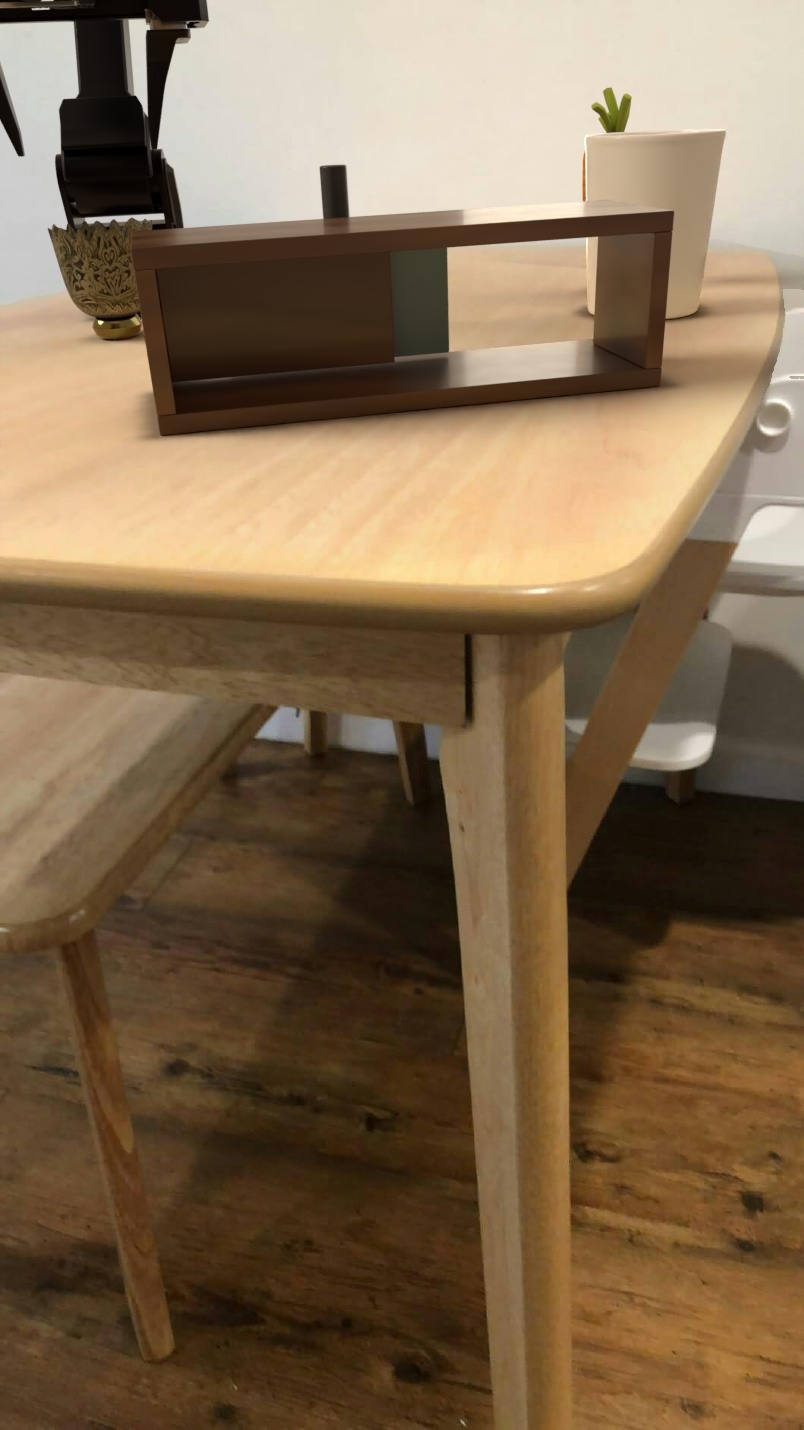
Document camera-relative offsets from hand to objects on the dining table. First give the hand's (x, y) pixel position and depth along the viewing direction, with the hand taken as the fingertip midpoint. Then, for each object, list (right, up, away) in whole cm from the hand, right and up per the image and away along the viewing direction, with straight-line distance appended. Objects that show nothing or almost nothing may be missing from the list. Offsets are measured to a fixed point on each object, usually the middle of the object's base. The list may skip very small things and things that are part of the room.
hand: (88, 152), depth 74 cm
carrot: (+40, -3, +17) cm, 43 cm away
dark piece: (+18, -17, -9) cm, 27 cm away
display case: (+22, -21, -14) cm, 34 cm away
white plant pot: (+41, -9, +6) cm, 42 cm away
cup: (0, -11, +6) cm, 13 cm away
